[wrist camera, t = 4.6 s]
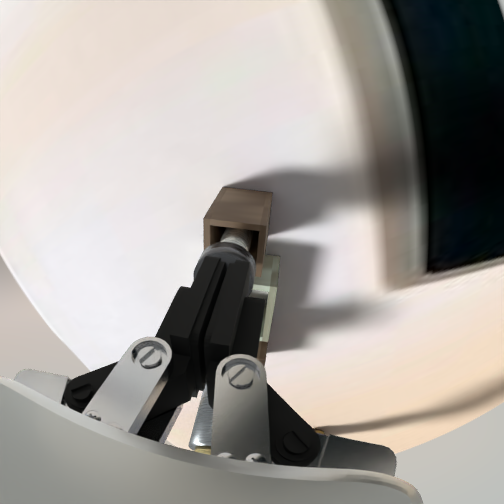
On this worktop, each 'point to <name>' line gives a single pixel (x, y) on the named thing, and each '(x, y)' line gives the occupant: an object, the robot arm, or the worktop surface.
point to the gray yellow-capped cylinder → (202, 427)
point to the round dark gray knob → (232, 251)
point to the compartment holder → (251, 218)
